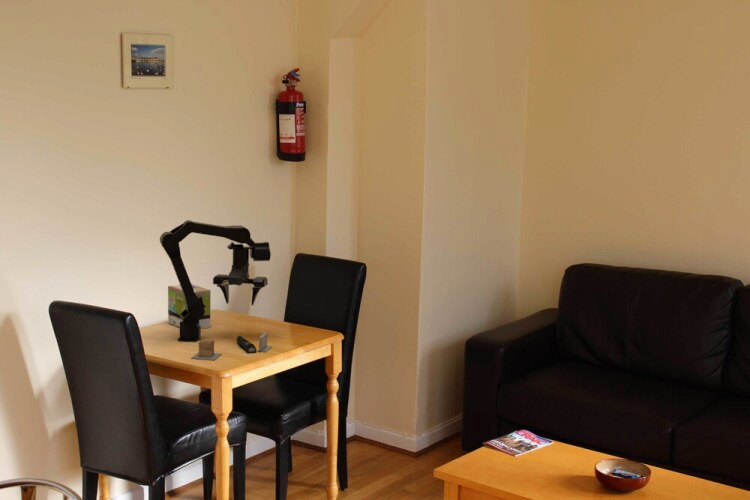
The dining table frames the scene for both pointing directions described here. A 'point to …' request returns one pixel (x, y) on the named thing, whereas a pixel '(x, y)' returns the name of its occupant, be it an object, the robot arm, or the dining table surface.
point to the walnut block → (206, 348)
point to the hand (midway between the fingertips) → (240, 304)
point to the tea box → (178, 306)
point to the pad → (207, 357)
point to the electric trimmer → (246, 345)
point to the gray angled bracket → (263, 343)
